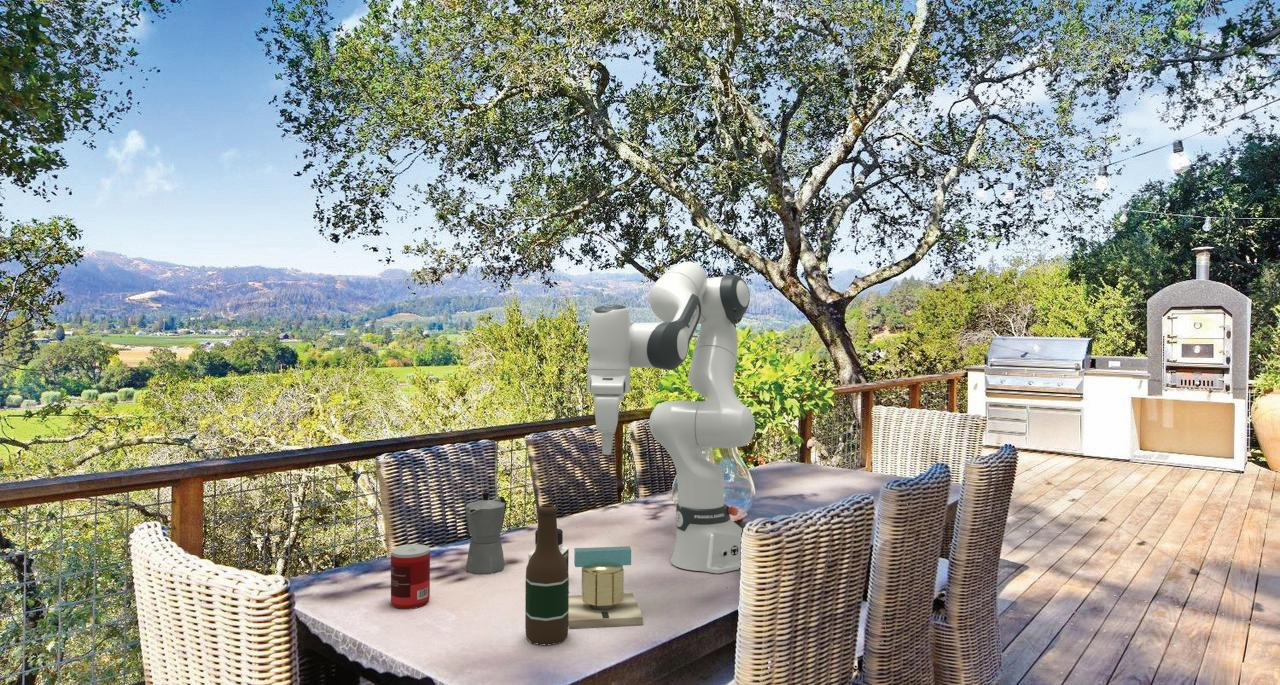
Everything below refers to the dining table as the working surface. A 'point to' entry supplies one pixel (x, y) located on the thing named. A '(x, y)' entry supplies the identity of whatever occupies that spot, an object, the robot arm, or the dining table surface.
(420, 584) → the canned food
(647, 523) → the dining table surface
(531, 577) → the beer bottle
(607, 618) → the square recessed plate
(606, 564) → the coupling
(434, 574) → the dining table surface
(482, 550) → the coffeepot
